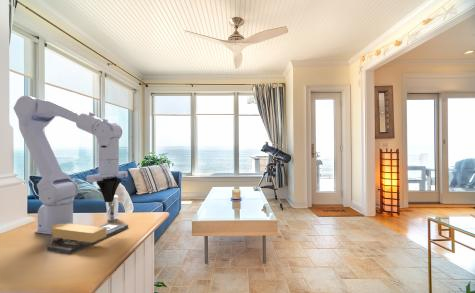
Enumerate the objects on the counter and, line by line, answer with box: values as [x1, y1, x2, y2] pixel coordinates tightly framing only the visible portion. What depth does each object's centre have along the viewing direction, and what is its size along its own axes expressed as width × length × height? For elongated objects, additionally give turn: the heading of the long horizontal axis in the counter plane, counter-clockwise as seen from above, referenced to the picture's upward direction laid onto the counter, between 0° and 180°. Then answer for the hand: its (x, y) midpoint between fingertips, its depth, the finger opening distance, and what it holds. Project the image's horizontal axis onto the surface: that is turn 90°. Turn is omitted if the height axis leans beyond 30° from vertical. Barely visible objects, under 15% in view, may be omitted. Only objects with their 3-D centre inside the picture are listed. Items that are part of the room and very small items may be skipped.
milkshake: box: [105, 192, 121, 222], centre depth 87 cm, size 5×5×10 cm
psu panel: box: [46, 222, 129, 255], centre depth 70 cm, size 8×20×1 cm, turn 164°
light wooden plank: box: [50, 223, 106, 244], centre depth 65 cm, size 16×4×2 cm, turn 74°
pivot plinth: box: [52, 236, 64, 244], centre depth 67 cm, size 2×2×2 cm
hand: (108, 201), depth 75 cm, fingers closed
